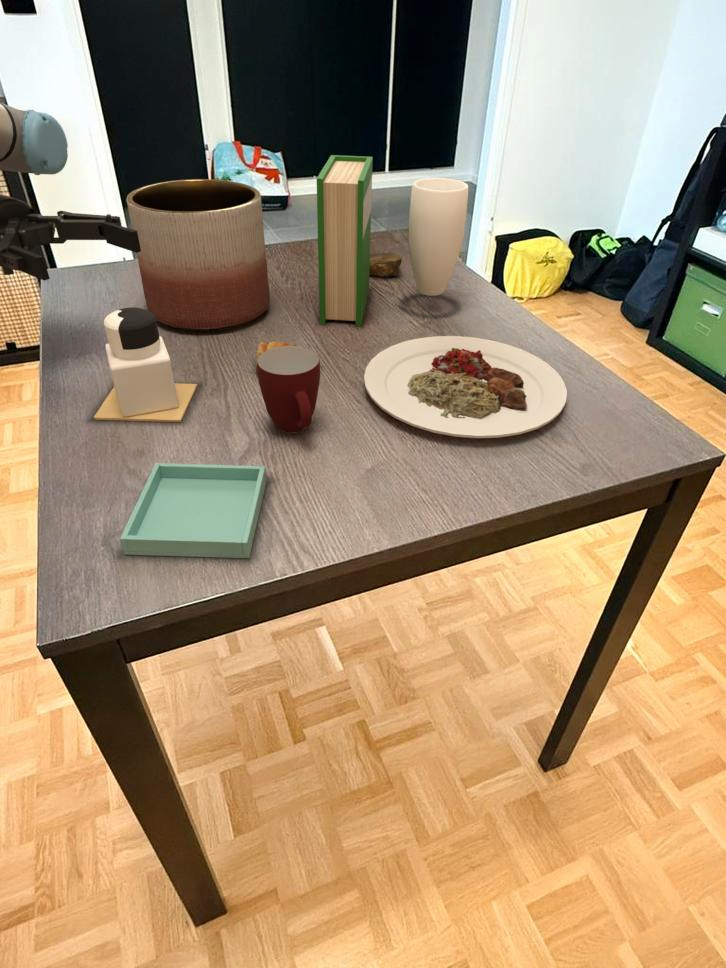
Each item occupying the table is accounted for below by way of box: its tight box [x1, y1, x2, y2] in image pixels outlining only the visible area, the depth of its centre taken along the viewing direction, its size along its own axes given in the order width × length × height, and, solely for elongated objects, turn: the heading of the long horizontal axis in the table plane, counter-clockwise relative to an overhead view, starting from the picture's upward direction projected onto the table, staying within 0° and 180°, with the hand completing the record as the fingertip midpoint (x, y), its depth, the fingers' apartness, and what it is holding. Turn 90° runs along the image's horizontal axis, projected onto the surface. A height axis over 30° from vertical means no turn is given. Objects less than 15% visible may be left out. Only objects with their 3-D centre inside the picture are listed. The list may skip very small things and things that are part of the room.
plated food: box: [363, 335, 568, 439], centre depth 93 cm, size 30×30×3 cm
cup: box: [408, 177, 469, 297], centre depth 112 cm, size 10×10×22 cm
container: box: [103, 307, 179, 417], centre depth 85 cm, size 8×8×13 cm
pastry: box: [255, 340, 297, 370], centre depth 97 cm, size 9×7×4 cm
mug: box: [256, 345, 321, 434], centre depth 82 cm, size 11×8×10 cm
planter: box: [126, 178, 270, 332], centre depth 109 cm, size 22×22×20 cm
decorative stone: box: [369, 252, 403, 279], centre depth 133 cm, size 10×9×4 cm
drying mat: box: [93, 383, 198, 423], centre depth 89 cm, size 12×10×1 cm
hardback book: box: [316, 154, 374, 327], centre depth 111 cm, size 18×7×24 cm, turn 175°
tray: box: [119, 462, 268, 559], centre depth 70 cm, size 13×13×2 cm
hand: (93, 254), depth 79 cm, fingers open, 13 cm apart
